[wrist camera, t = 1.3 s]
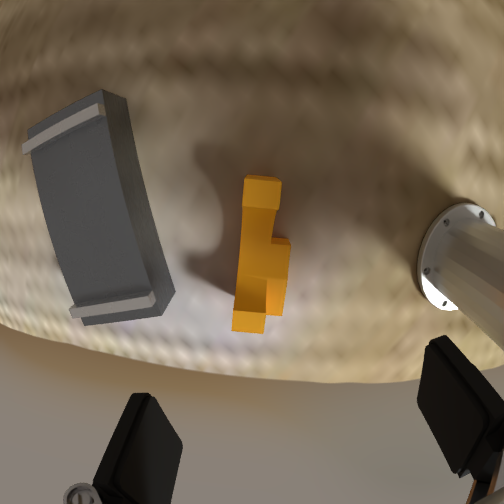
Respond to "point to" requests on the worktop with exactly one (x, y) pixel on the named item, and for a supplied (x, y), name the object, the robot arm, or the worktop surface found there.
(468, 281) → the robot arm
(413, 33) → the worktop surface
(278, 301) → the orange stepped block
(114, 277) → the mounting block
